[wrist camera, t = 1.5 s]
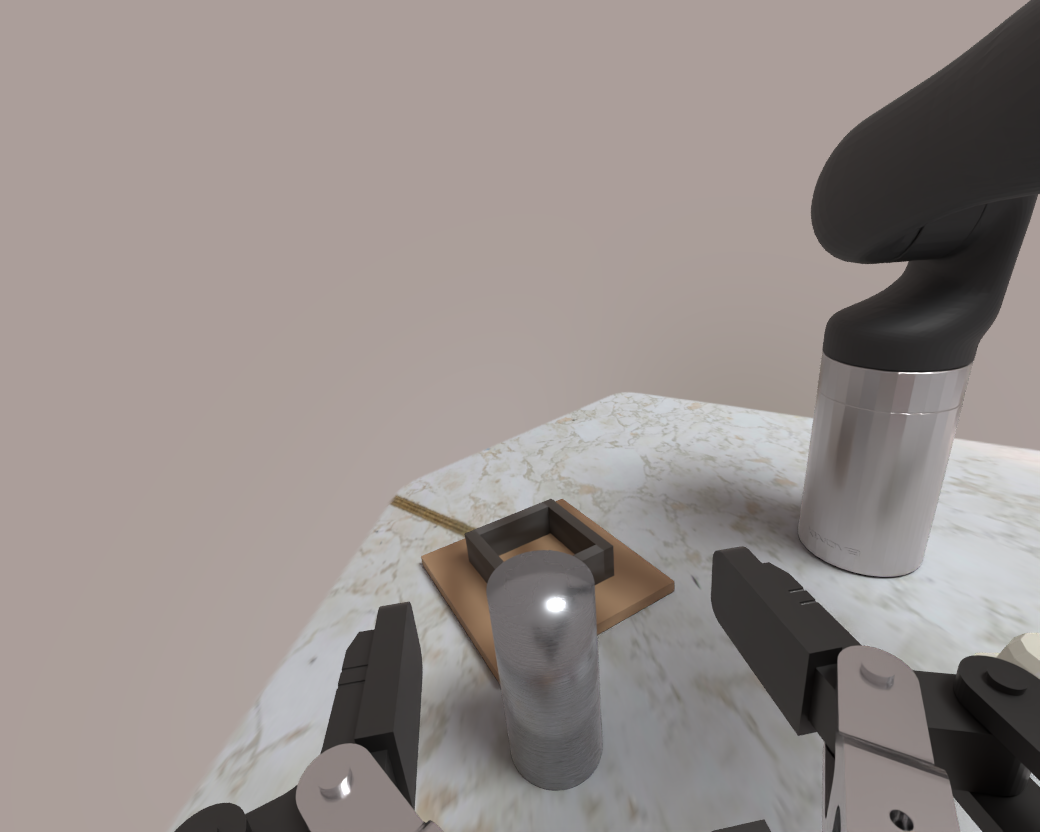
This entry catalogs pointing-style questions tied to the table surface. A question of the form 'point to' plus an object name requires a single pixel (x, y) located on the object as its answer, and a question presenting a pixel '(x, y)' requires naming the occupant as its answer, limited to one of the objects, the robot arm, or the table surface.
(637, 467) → the table surface
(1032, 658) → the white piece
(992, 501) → the table surface
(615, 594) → the wooden board with frame
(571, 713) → the grey metal cylinder
